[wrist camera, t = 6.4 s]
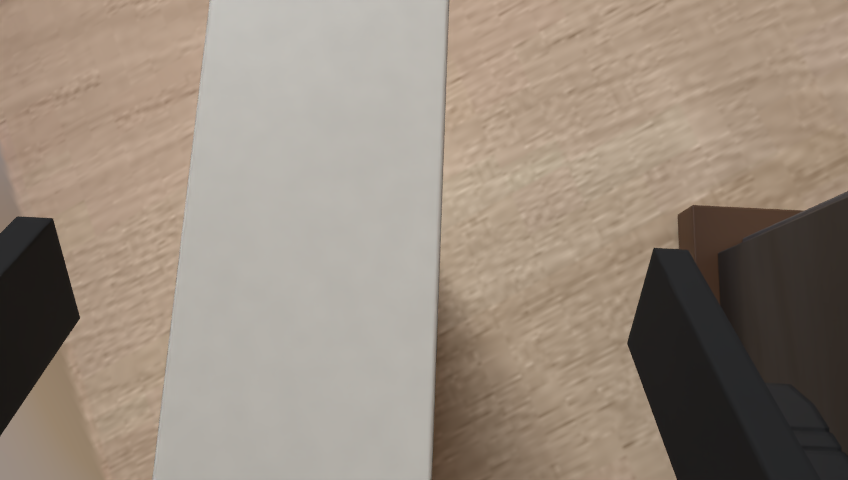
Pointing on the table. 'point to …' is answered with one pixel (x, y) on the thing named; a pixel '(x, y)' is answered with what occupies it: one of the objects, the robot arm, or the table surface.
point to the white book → (310, 246)
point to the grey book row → (782, 293)
